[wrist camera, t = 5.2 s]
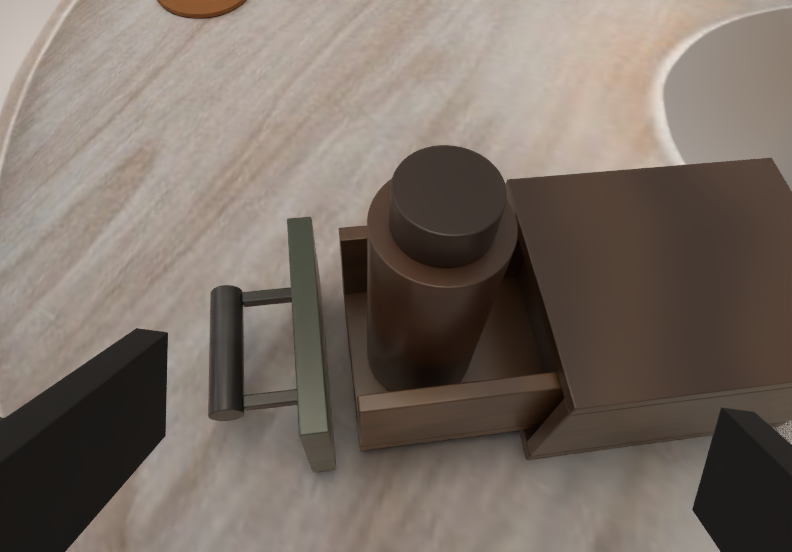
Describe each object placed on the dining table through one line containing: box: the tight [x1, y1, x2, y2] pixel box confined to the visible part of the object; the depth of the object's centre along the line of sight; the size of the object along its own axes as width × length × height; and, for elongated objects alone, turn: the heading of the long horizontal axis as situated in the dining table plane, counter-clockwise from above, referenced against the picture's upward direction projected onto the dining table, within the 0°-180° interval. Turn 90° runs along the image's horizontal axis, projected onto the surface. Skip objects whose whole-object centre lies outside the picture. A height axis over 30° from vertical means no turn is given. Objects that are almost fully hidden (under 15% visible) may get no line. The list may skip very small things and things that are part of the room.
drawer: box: [208, 217, 565, 472], centre depth 30 cm, size 18×11×7 cm, turn 98°
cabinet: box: [506, 158, 792, 460], centre depth 32 cm, size 15×12×9 cm
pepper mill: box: [367, 145, 518, 391], centre depth 26 cm, size 6×6×14 cm
